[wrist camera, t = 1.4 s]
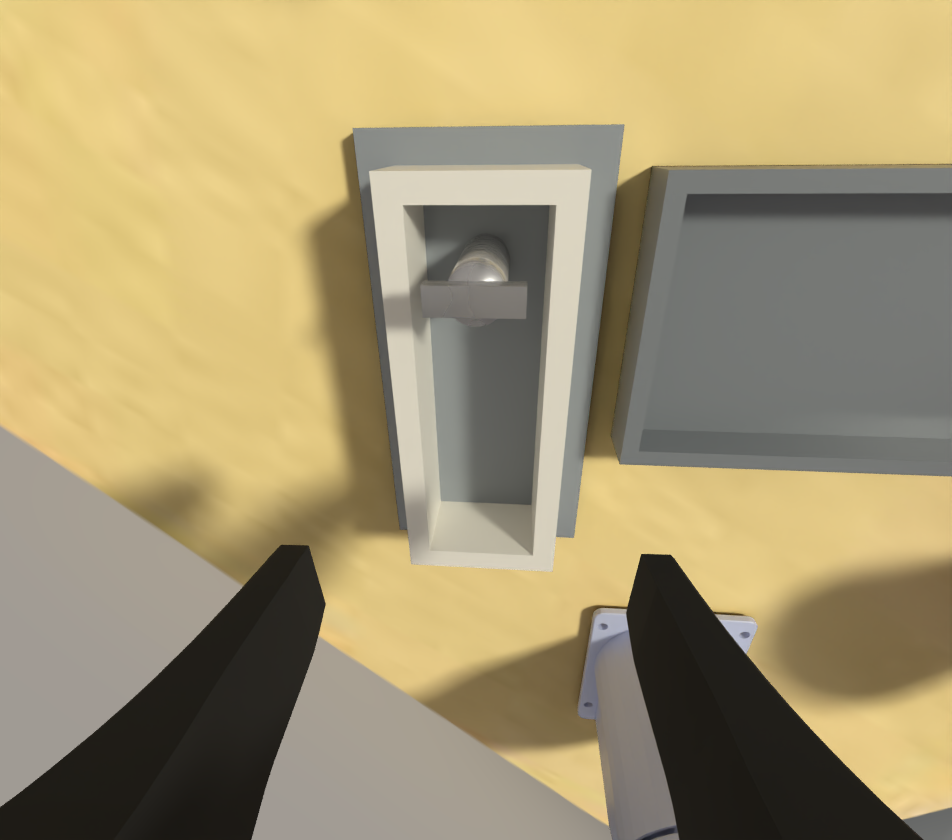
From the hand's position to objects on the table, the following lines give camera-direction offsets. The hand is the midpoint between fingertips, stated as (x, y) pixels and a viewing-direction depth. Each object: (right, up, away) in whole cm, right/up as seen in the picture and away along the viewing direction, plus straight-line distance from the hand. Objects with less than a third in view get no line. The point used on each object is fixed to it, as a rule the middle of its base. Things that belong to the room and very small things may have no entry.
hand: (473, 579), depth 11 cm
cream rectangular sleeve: (0, +5, +7) cm, 9 cm away
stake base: (0, +6, +8) cm, 10 cm away
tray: (+15, +7, +6) cm, 18 cm away
